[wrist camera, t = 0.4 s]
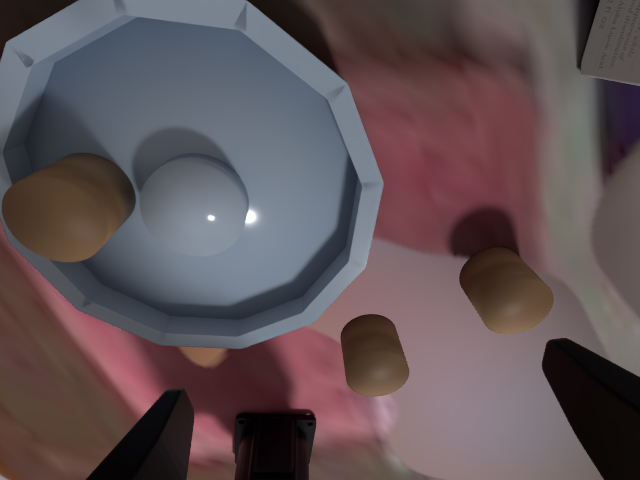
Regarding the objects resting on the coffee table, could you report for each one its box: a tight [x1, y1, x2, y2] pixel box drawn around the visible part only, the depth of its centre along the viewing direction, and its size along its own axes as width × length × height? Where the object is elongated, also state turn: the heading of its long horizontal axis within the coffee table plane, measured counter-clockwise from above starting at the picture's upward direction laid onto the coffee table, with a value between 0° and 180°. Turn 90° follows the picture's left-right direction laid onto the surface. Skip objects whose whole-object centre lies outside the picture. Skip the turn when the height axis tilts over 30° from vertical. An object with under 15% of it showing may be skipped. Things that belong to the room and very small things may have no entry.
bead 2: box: [341, 314, 409, 397], centre depth 25 cm, size 4×4×4 cm
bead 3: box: [459, 247, 553, 334], centre depth 22 cm, size 4×4×4 cm
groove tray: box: [0, 0, 384, 349], centre depth 19 cm, size 18×18×3 cm
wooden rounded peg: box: [2, 153, 136, 262], centre depth 17 cm, size 4×4×4 cm
